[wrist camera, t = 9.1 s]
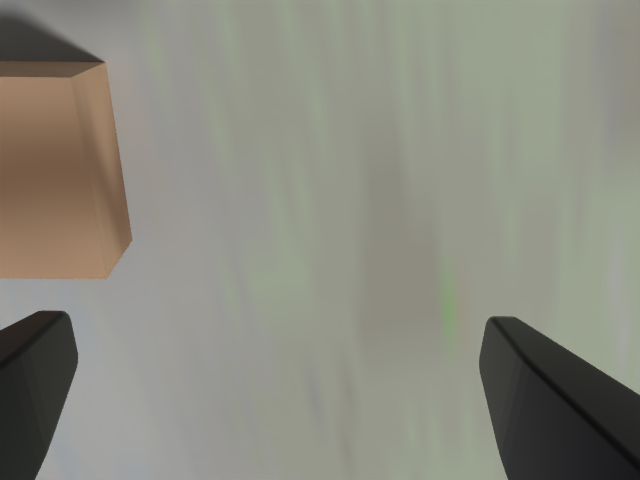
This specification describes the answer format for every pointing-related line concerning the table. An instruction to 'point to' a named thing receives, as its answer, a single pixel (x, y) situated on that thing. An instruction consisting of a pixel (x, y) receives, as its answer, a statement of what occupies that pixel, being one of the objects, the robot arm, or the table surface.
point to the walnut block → (59, 172)
